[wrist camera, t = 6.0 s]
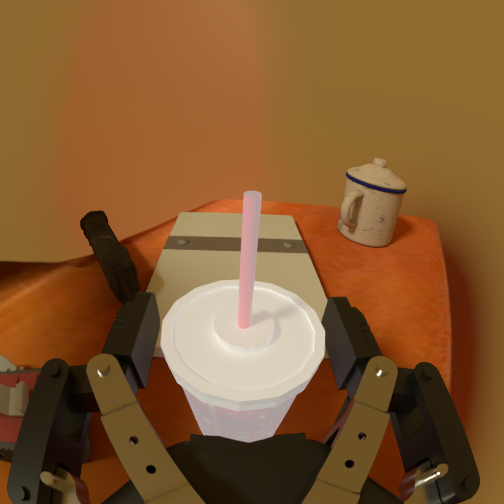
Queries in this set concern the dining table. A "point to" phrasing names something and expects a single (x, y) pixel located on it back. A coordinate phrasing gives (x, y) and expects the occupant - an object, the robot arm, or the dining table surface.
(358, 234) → the teacup with lid
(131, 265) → the hand tool
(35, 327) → the dining table surface
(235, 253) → the floor panel
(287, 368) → the beverage cup
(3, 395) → the walkie-talkie
